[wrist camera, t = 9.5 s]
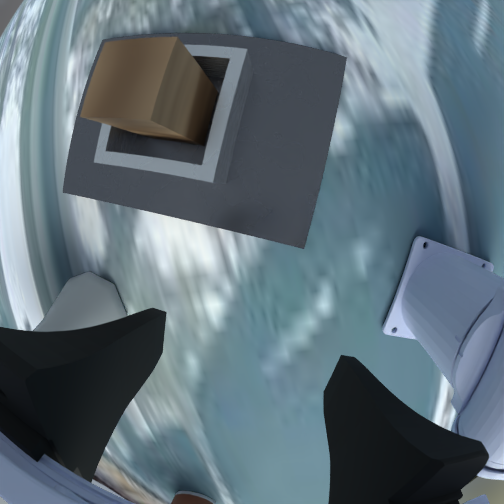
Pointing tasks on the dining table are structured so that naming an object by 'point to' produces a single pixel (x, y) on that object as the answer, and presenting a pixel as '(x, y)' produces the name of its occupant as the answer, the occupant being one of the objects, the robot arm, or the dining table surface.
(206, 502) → the coffee cup
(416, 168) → the dining table surface
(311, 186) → the post socket base
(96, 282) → the flask
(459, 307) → the robot arm
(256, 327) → the dining table surface
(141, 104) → the walnut rail post
